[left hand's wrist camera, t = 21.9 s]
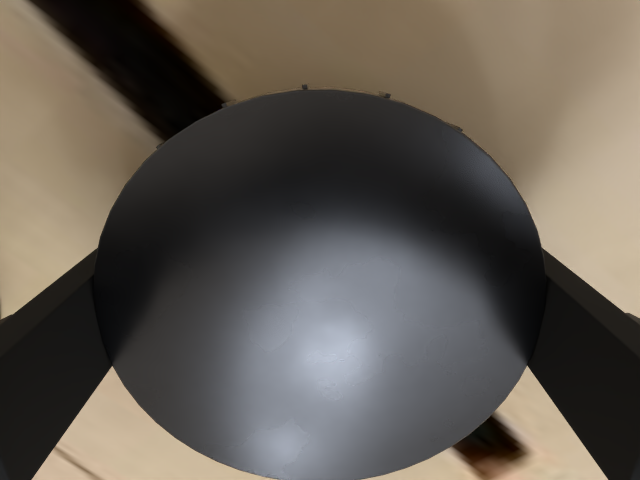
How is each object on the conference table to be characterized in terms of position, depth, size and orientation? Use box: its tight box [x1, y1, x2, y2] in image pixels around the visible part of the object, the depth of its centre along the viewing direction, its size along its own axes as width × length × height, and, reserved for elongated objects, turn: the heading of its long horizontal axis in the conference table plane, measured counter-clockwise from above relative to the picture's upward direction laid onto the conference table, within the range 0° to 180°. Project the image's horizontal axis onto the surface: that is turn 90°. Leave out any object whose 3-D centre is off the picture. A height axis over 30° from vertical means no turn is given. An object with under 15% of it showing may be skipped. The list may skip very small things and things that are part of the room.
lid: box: [93, 83, 547, 480], centre depth 11 cm, size 11×11×2 cm
